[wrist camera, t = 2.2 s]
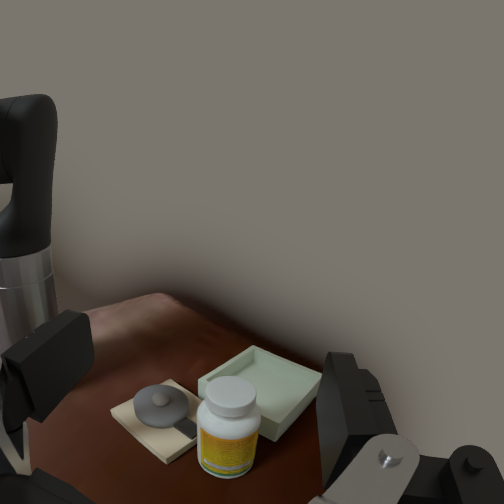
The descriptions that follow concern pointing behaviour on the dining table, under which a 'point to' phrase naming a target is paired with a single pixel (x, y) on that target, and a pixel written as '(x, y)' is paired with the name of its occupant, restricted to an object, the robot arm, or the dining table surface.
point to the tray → (271, 387)
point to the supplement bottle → (228, 427)
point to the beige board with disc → (161, 419)
